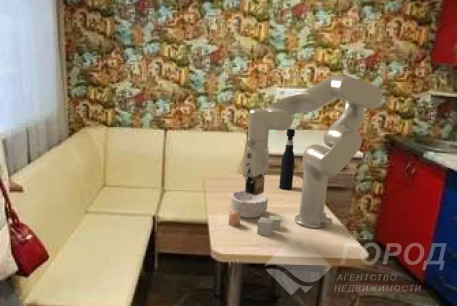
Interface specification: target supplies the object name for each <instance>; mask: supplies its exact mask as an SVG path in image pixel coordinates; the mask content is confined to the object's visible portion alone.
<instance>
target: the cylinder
mask: <svg viewBox="0 0 457 306" xmlns="http://www.w3.org/2000/svg"><path fill="white" fill-rule="evenodd" d="M230 225H231V226H230ZM228 226H230V227H232V226H235V228H236V226H238V227H240V226H241V212H240V211H237V210H233V209H231V210H229V212H228Z"/></svg>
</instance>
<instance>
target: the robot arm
mask: <svg viewBox="0 0 457 306" xmlns="http://www.w3.org/2000/svg"><path fill="white" fill-rule="evenodd" d="M383 98H384V95H383V91H382V89H381V88H380V87H378V86H377V85H375V84H372V83H369V82H366V81H363V80H360V79H358V78H355V77H352V76H347V75H340V74H339V75H338V74H336V75H331V76H329V77H327V78H325V79H323V80H322V81H319V82H318V83H316V84H314V85H312V86H310V87H309V88H307V89H305V90H303V91H300V92H297V93H295V94H291V95H289V96H286V97H283V98H281V99H278V100H276V101H275V102H273V103H271V104H269V105H268V106H266V108H265V109H262V108H252V109H250V110H249V113H248V125H247V126H248V128H247V140H246V141H247V143H246V147H247V148H246V151H245V156H244V157H245V159H244V167H243V168H244V171H243V173H242V177H243V178H244V179H245V183H246V182H247V186H246V192H249V193H252V194H253V193H254V187H255V183H254V179H255V176H262V177H265V175H266V173H267V172H268V171H269V169H270V168H269V165H270V153H269V152H270V149H269V136H270V135H269V134H270V133H269V132H270V130H271V131H278V132H280V131H287V129H291V126H292V125H293V122H294V120H293V115H296V114H303V113H311V112H315V111H316V112H317V111H318V110H320V109H321V108H323V107H325V106H327V105H328V104H329V103H330V104H331V102H333V101H336V100H338V99H339V100H343V101H344V109H343V111H342V113H341V114H340V116H339V117H338V118H337V119H336V120H335V121H334V122H333V123H332V125H331V126H330V127H329V128H328V129H327V130H326V132H325V133H324V135H323V142H324V144H325V145H326V146H327V147H326V146H323V145H320V144H311V145H309V146H308V147H306V148H305V150H304V151H303V156H302V166H303V171H302V172H303V174H302V175H303V176H302V184H301V185H302V186H301V192H300V193H301V196H300V205H299V213H298V215H295V217H294V222H296V224H297V225H299V226H302V227H306V228H311V229H321V228H324V227H326V226H327V225H329V226H332V225H333V223H334V222H333V218H331V217H327V212H325V207H326V197H327V188H328V181H329V180H328V178H329V177H332V176H333V177H334V176H336V175H337V174H338V173H340V172H341V171H342V170H343V169H344V168H345V167H346V165H347V164H348V163H350V162H351V160H352V159H353V158H354V157H355V156H356V155H357V153H358V152H359V150H360V148H361V146H362V142H363V141H362V136H361V134H360V133H359V131H358V130H359V129H360V128H361V126H362V124H363V122H364V119H365V108H366V109H374V108H375V109H376V108H377V107H379V105H381V104H382V101H383ZM328 147H329V148H328ZM250 176H252V179H251V177H250Z"/></svg>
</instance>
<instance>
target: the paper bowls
mask: <svg viewBox="0 0 457 306" xmlns="http://www.w3.org/2000/svg"><path fill="white" fill-rule="evenodd" d="M268 199H269V198H268V196H267V195H266V194H265V193H264V192H263V193H261V194H259V195H252V194H249V193H245V189H244V190H238V191H234V192H232V193H231V195H230V204H229V205H230V208H231V210H237V211H240V212H241V216H240V218H241V217H242V218H246V219H254V218H258V217H261V215H262V213H264V212H266V211H267V210H268V201H269V200H268Z"/></svg>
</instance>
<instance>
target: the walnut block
mask: <svg viewBox="0 0 457 306" xmlns="http://www.w3.org/2000/svg"><path fill="white" fill-rule="evenodd" d="M250 177H251V179H252V176H250ZM265 180H266V179H265V176H264V177H262V176H255V179H254V183H255V187H254V193H253V194H252V193H249V192H246V186H247V182H246V181H245V183H244V185H245V187H244V190H245V193H249V194H252V195H259V194H261V193H263V194H264V191H265V190H264V189H265Z"/></svg>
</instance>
